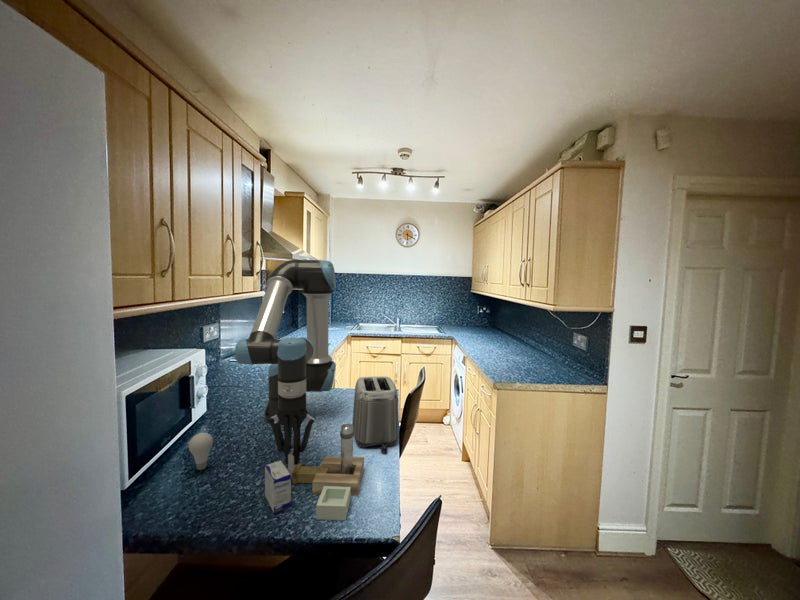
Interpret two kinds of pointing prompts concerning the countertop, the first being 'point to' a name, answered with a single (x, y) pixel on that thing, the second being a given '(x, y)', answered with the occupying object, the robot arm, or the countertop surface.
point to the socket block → (338, 475)
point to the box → (278, 486)
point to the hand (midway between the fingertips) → (292, 474)
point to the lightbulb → (201, 449)
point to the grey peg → (347, 448)
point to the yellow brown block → (306, 473)
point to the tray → (333, 503)
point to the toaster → (375, 412)
